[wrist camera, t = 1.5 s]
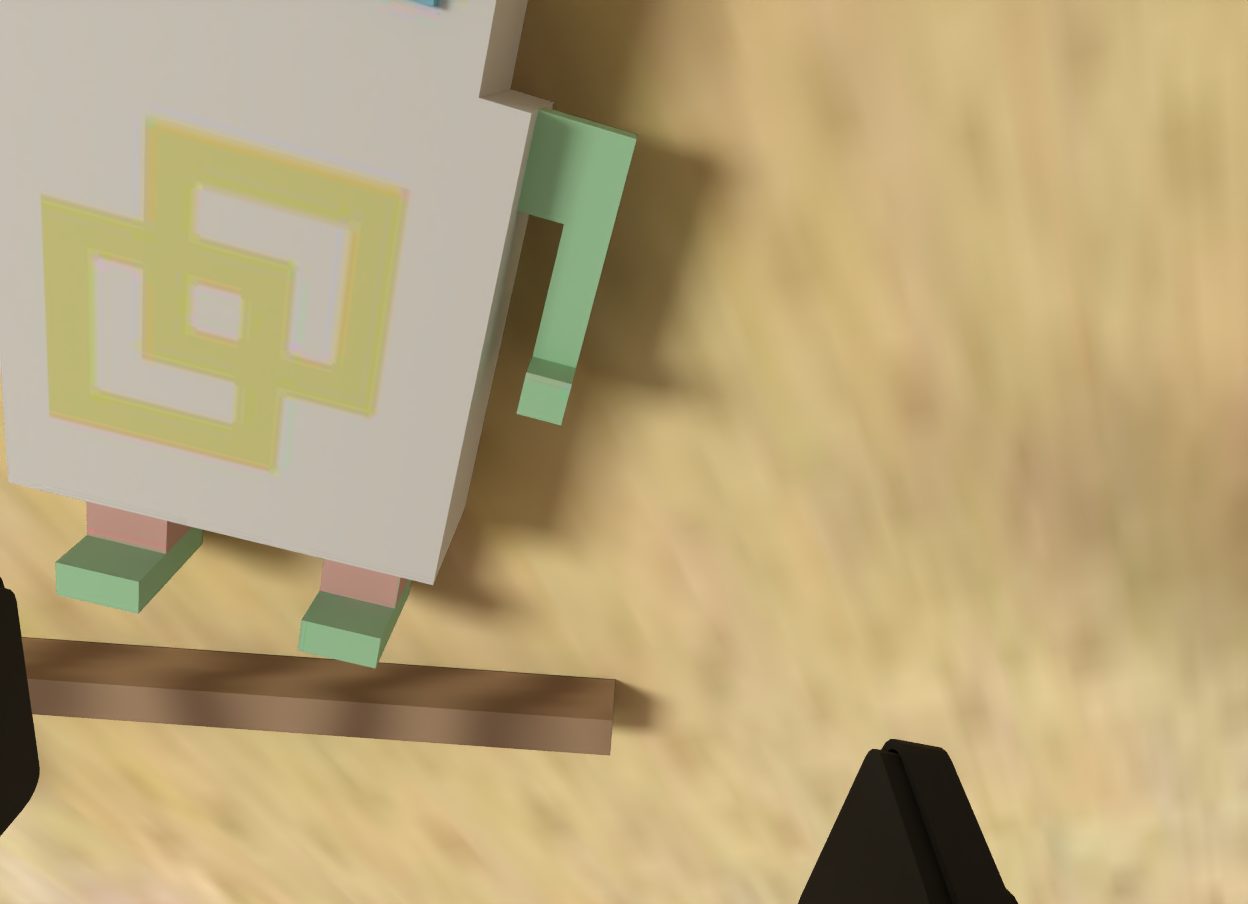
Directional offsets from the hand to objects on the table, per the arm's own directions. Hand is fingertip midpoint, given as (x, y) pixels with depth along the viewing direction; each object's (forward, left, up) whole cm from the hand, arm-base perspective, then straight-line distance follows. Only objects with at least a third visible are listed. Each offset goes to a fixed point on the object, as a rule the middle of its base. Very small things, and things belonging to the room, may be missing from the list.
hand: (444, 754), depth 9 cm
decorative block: (+10, 0, -23) cm, 25 cm away
